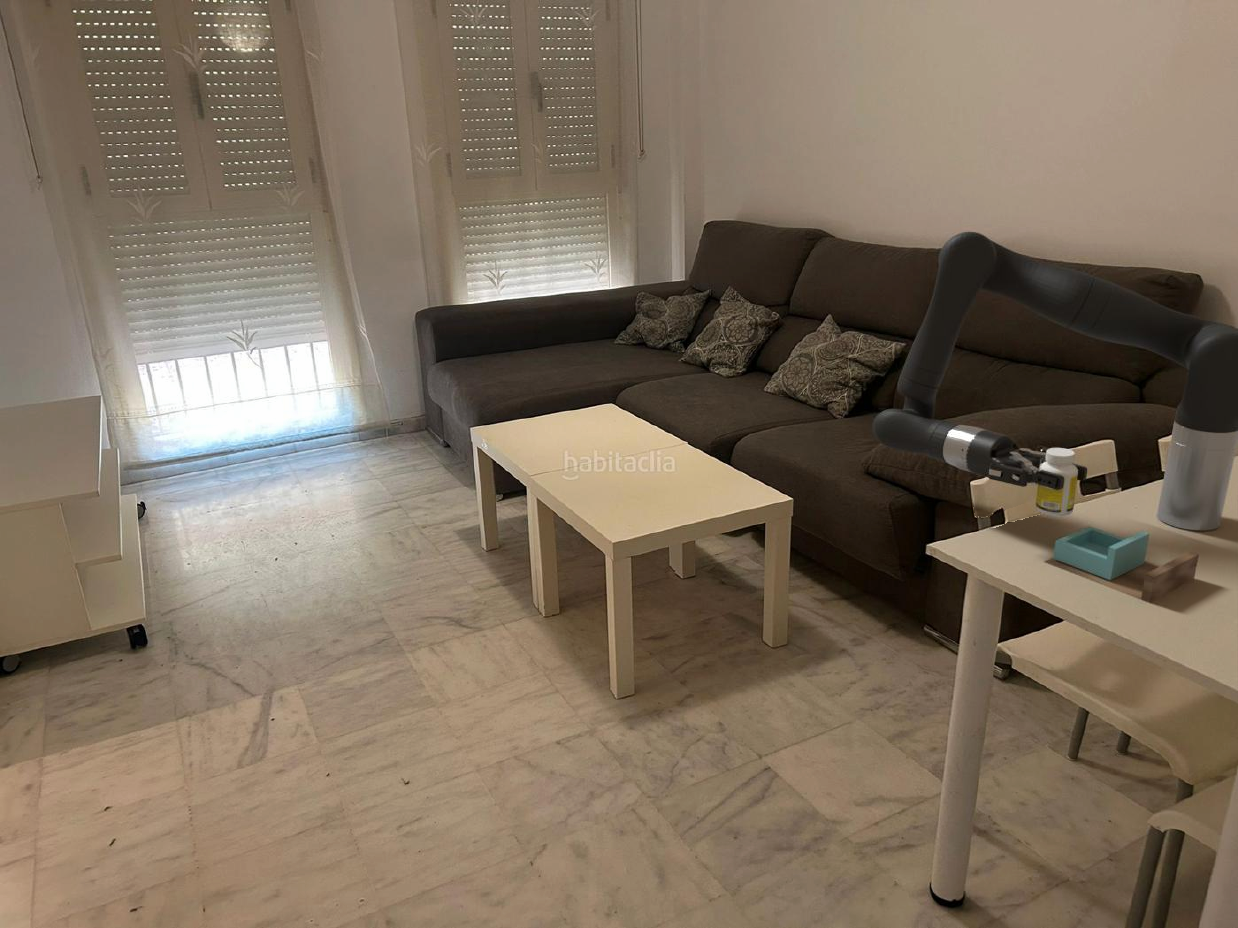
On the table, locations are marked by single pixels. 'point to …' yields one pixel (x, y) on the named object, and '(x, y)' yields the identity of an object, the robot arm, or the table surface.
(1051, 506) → the supplement bottle
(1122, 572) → the teal open tray
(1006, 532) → the table surface
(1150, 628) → the table surface
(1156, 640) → the table surface
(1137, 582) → the walnut board
